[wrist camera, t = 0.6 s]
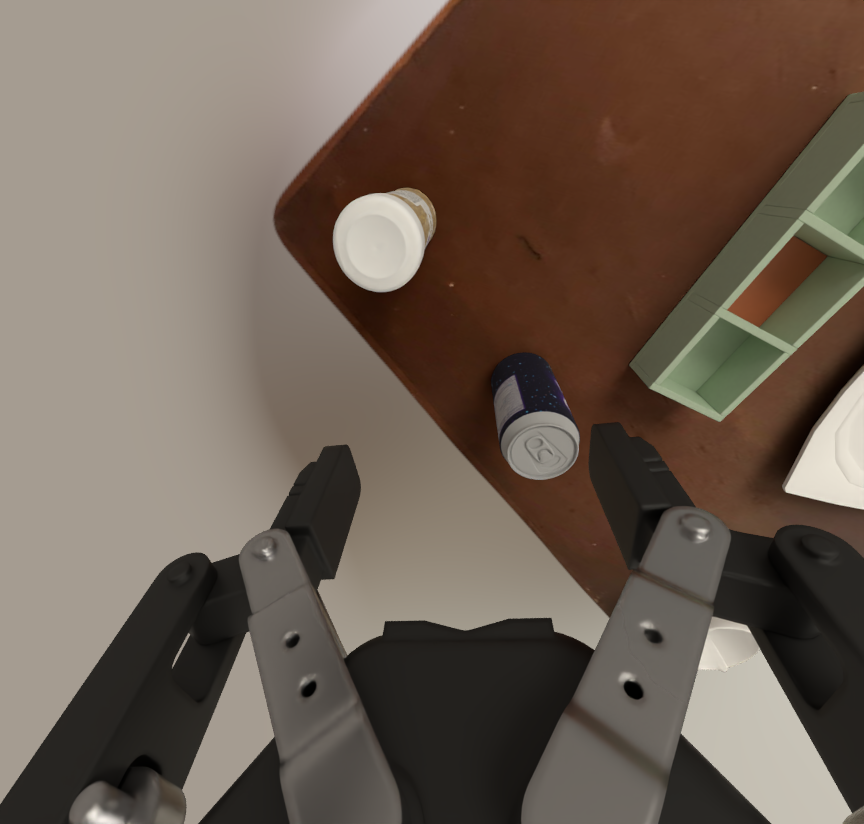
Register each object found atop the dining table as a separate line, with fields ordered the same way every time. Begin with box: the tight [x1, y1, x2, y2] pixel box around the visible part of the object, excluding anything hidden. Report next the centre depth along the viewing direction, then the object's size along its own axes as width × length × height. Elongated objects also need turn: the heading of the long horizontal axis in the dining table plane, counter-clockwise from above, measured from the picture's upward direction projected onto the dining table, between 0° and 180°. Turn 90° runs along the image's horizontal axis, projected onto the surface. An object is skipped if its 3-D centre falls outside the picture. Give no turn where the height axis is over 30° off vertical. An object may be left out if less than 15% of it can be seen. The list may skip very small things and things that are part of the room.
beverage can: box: [491, 353, 580, 480], centre depth 32 cm, size 6×6×12 cm
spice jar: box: [333, 188, 436, 292], centre depth 25 cm, size 5×5×13 cm
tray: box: [629, 92, 864, 422], centre depth 29 cm, size 21×8×5 cm, turn 156°
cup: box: [698, 616, 760, 672], centre depth 46 cm, size 9×9×10 cm
